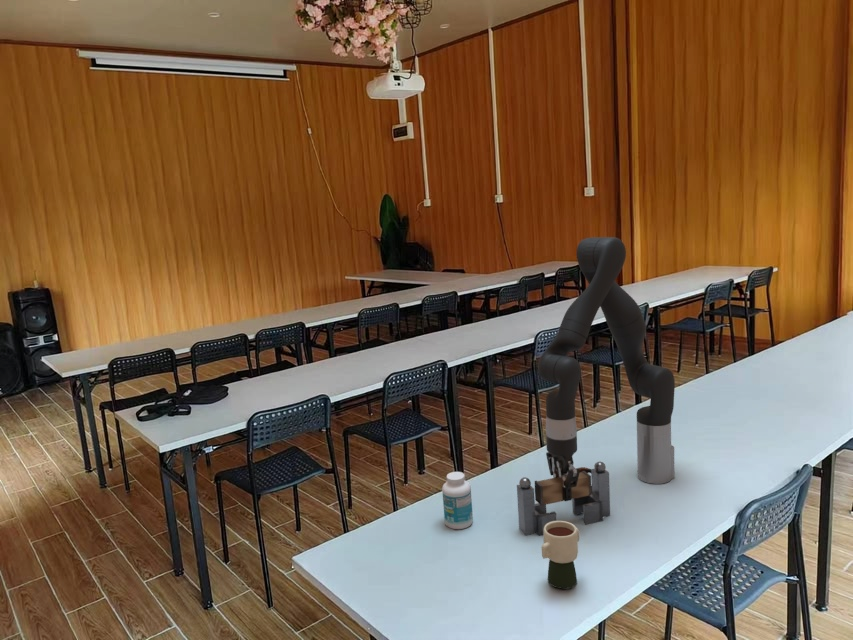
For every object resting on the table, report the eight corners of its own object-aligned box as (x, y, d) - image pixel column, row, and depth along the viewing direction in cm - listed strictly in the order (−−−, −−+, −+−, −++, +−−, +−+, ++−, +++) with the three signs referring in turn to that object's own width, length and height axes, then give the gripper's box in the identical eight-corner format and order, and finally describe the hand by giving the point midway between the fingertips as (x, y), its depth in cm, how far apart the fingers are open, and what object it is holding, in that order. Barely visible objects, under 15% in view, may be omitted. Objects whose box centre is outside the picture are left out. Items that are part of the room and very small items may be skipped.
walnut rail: (584, 489, 171) (584, 470, 170) (591, 495, 168) (590, 475, 167) (535, 500, 167) (534, 480, 166) (541, 505, 164) (540, 486, 163)
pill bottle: (440, 520, 175) (436, 473, 172) (466, 513, 177) (462, 466, 175) (451, 533, 168) (447, 484, 165) (477, 526, 170) (474, 477, 168)
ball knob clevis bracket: (599, 506, 175) (598, 456, 172) (613, 518, 169) (612, 465, 166) (516, 526, 169) (513, 473, 166) (527, 538, 163) (524, 484, 160)
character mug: (567, 566, 150) (565, 514, 147) (592, 580, 144) (590, 525, 141) (532, 585, 144) (529, 531, 141) (556, 600, 138) (553, 544, 135)
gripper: (589, 439, 158) (591, 506, 162) (561, 421, 172) (563, 483, 175) (561, 445, 156) (563, 512, 160) (535, 426, 170) (537, 488, 173)
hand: (563, 496), depth 167 cm, fingers closed on walnut rail, 3 cm apart
